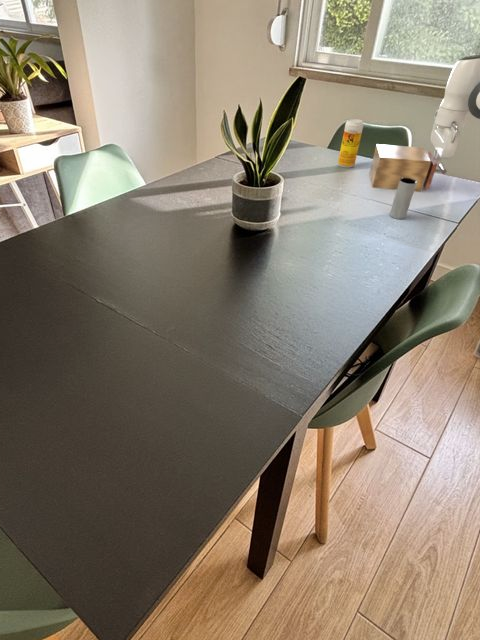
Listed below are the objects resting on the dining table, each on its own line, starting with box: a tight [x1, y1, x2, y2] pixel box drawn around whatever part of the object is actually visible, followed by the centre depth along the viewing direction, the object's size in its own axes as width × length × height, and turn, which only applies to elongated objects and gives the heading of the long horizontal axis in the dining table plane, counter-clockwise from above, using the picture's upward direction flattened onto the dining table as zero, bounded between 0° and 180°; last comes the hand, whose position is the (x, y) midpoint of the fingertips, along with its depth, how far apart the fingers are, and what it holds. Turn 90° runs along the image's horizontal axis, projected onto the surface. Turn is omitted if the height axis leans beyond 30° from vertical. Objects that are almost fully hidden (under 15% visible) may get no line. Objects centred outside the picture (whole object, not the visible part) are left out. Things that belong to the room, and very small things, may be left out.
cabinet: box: [369, 143, 431, 193], centre depth 143 cm, size 16×15×10 cm
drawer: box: [423, 150, 447, 190], centre depth 142 cm, size 19×13×8 cm
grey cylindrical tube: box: [389, 178, 417, 220], centre depth 122 cm, size 4×4×10 cm
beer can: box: [337, 118, 364, 169], centre depth 153 cm, size 6×6×15 cm
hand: (435, 164), depth 140 cm, fingers closed
